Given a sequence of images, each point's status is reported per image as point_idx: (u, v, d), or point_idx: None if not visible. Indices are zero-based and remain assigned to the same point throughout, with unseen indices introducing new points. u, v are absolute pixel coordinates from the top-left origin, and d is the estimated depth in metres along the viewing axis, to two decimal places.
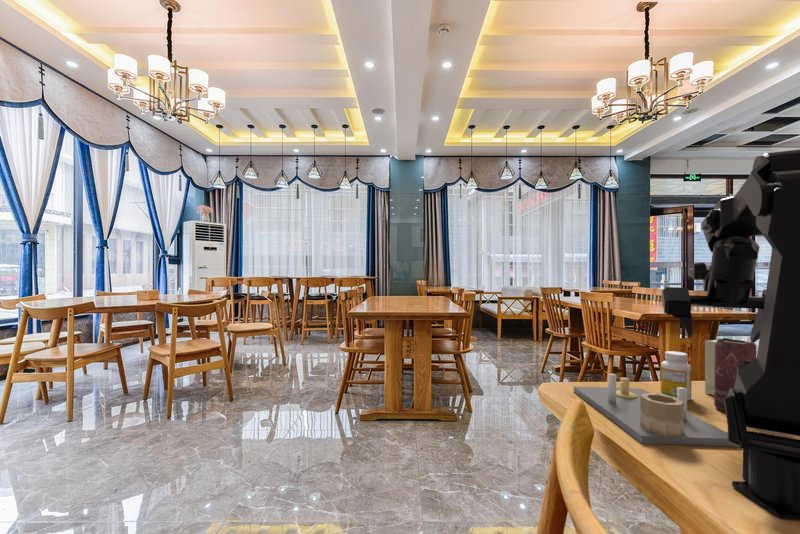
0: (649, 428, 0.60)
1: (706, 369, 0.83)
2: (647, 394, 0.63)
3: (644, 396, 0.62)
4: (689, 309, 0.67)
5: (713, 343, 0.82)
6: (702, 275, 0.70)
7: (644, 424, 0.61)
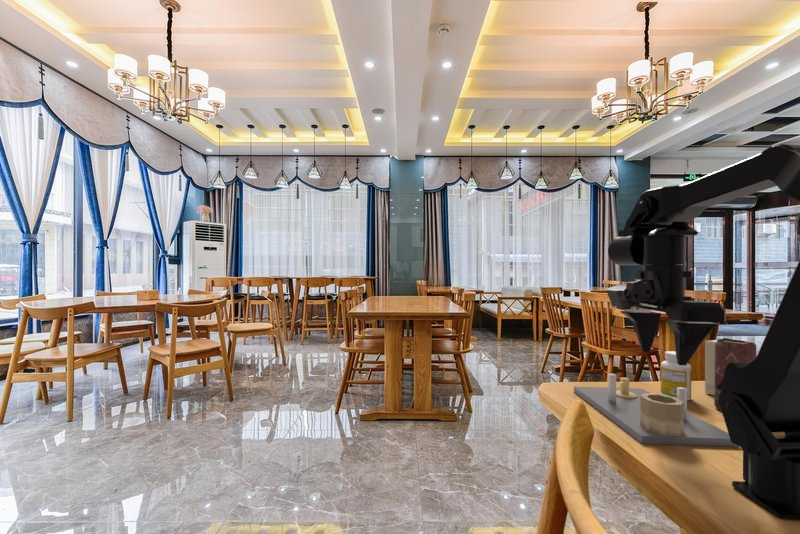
0: (649, 428, 0.60)
1: (706, 369, 0.83)
2: (647, 394, 0.63)
3: (644, 396, 0.62)
4: None
5: (713, 343, 0.82)
6: None
7: (644, 424, 0.61)
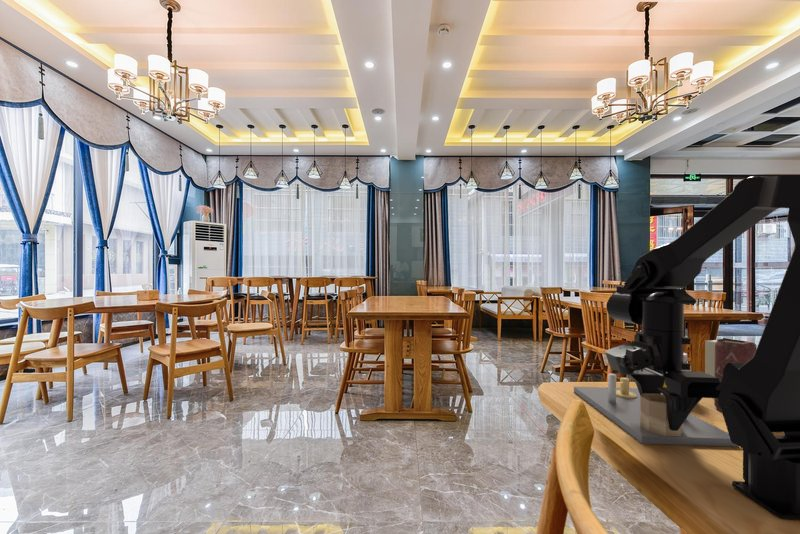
0: (649, 428, 0.60)
1: (706, 369, 0.83)
2: (647, 394, 0.63)
3: (644, 396, 0.62)
4: None
5: (713, 343, 0.82)
6: None
7: (644, 424, 0.61)
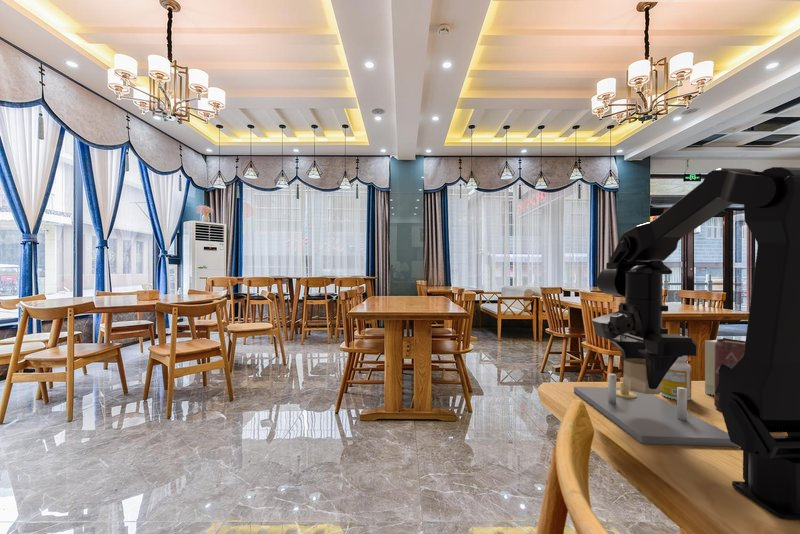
0: (631, 388, 0.66)
1: (706, 369, 0.83)
2: (629, 359, 0.69)
3: (627, 360, 0.69)
4: None
5: (713, 343, 0.82)
6: None
7: (626, 385, 0.68)
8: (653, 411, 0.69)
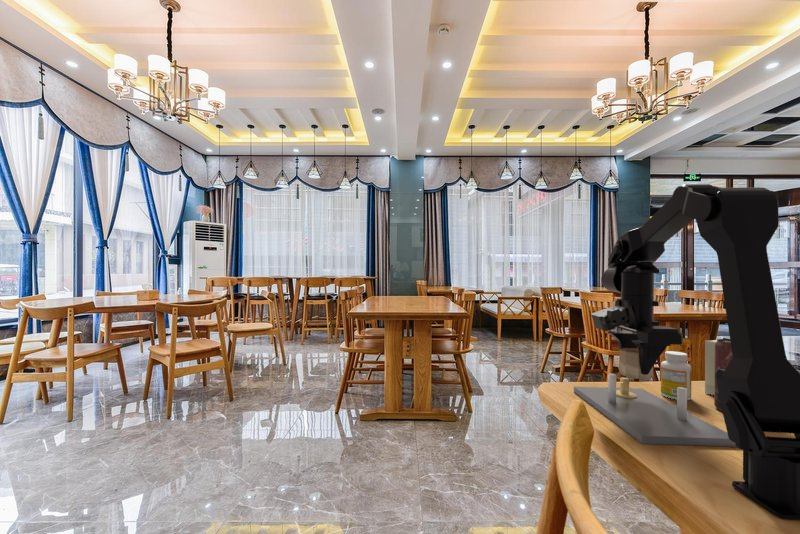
0: (625, 374, 0.75)
1: (706, 369, 0.83)
2: (625, 348, 0.78)
3: (622, 349, 0.77)
4: None
5: (713, 343, 0.82)
6: None
7: (622, 371, 0.76)
8: (653, 411, 0.69)
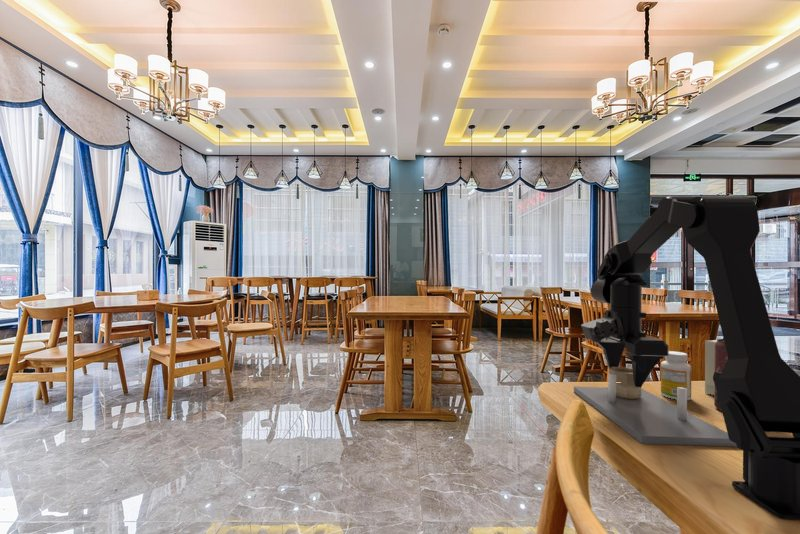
0: None
1: (706, 369, 0.83)
2: (614, 367, 0.80)
3: (612, 368, 0.79)
4: None
5: (713, 343, 0.82)
6: None
7: None
8: (653, 411, 0.69)
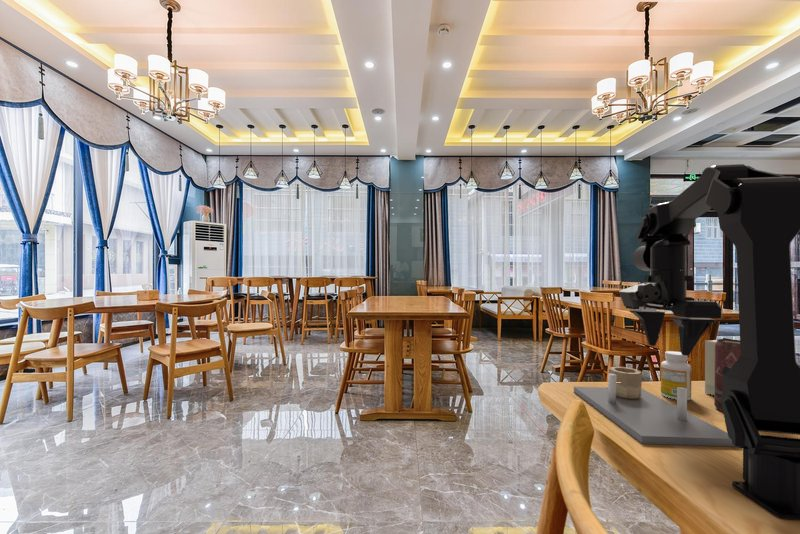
0: None
1: (706, 369, 0.83)
2: (614, 367, 0.80)
3: (612, 368, 0.79)
4: None
5: (713, 343, 0.82)
6: None
7: None
8: (653, 411, 0.69)
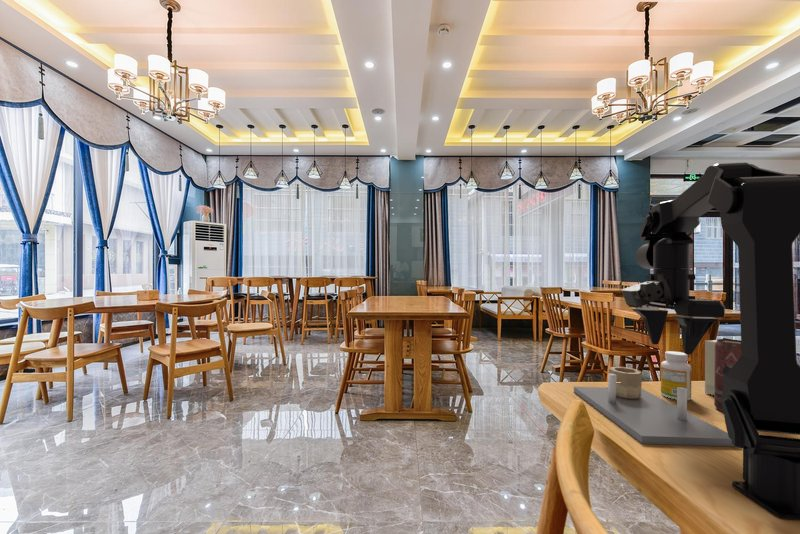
0: None
1: (706, 369, 0.83)
2: (614, 367, 0.80)
3: (612, 368, 0.79)
4: None
5: (713, 343, 0.82)
6: None
7: None
8: (653, 411, 0.69)
